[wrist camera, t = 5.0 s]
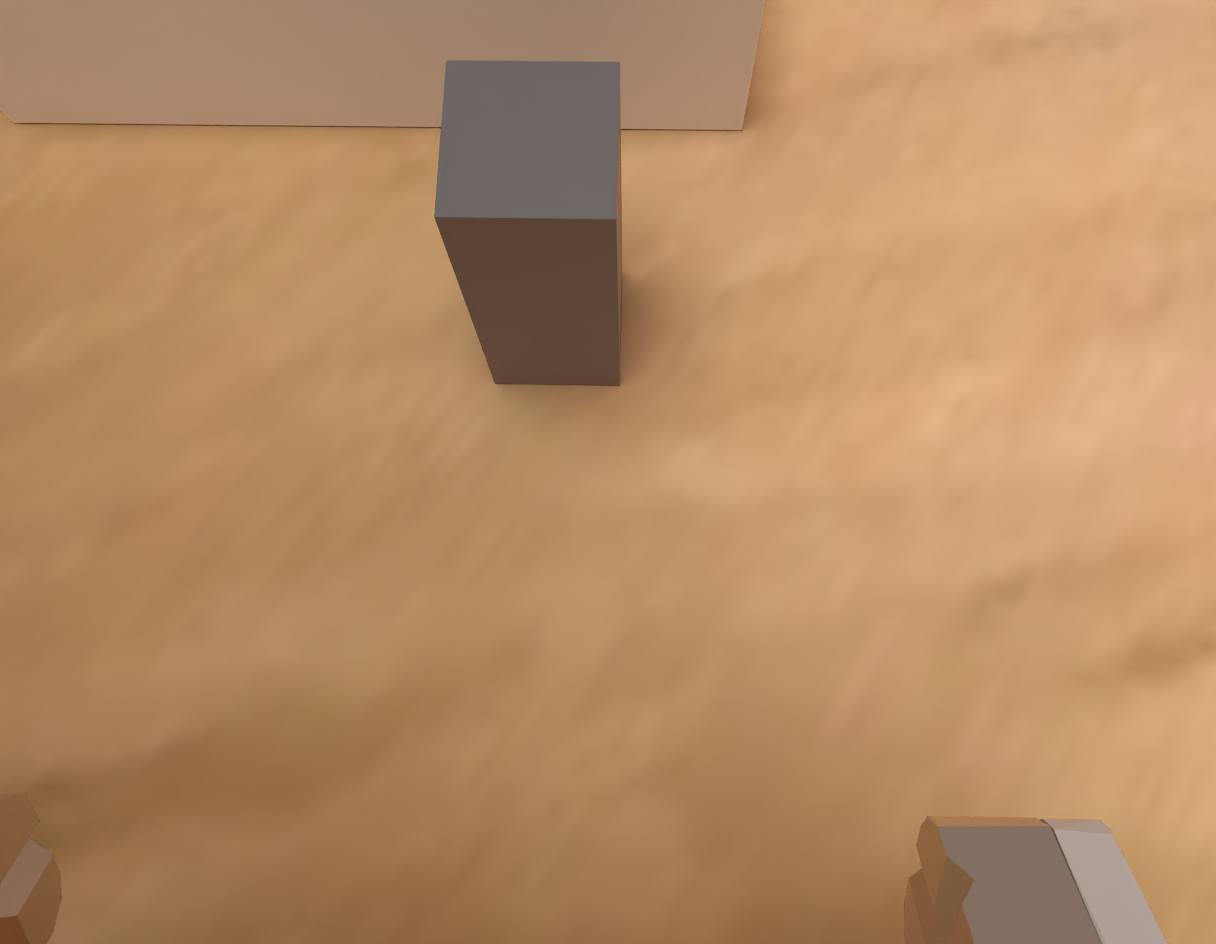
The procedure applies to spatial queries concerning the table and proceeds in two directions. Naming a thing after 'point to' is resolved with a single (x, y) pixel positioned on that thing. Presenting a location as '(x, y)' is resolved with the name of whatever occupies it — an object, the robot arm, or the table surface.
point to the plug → (536, 214)
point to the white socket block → (359, 58)
